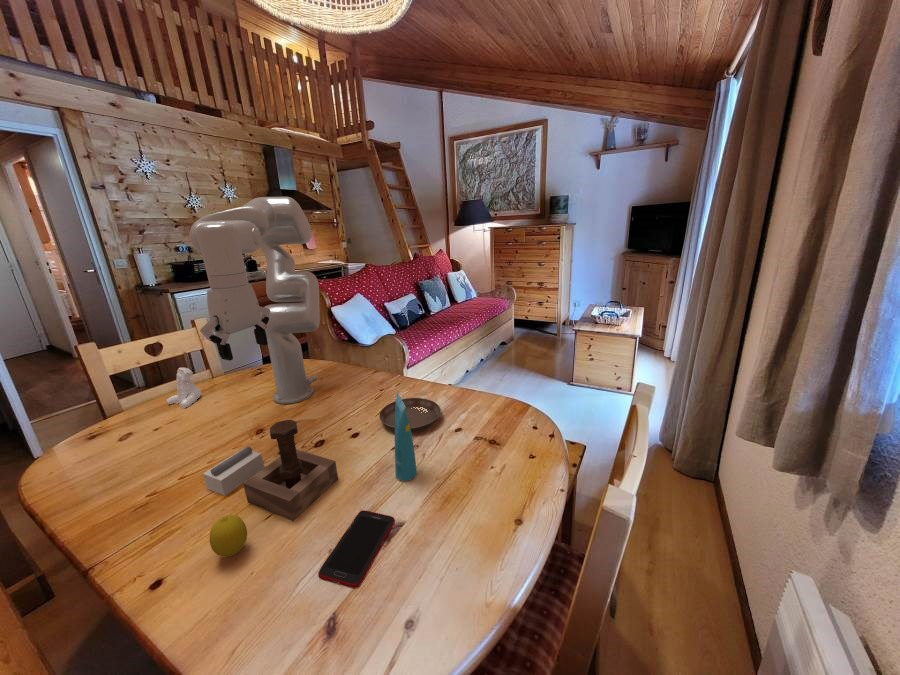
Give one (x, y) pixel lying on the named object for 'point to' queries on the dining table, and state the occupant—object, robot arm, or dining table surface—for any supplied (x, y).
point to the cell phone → (356, 549)
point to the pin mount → (233, 471)
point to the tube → (403, 444)
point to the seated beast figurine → (185, 389)
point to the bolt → (287, 451)
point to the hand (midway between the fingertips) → (245, 351)
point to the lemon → (228, 535)
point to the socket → (291, 503)
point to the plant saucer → (412, 414)
